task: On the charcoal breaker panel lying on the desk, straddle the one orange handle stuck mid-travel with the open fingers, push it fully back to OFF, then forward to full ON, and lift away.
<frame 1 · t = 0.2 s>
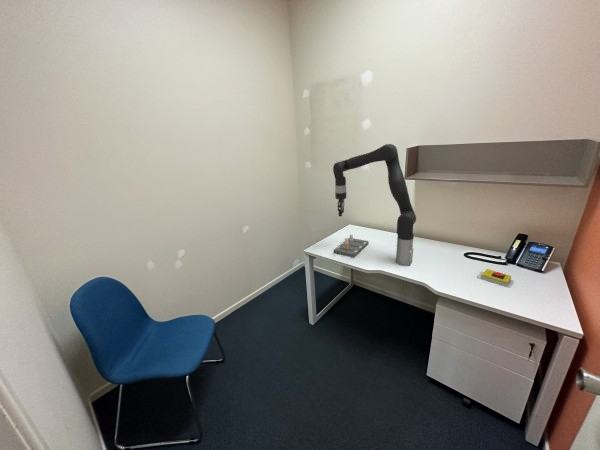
hand: (341, 214, 175), 27 cm above the table, fingers open, 8 cm apart
tripped breaker handle: (346, 246, 178), point 5 cm above the table, slide at 0.0 cm
breaker panel: (351, 248, 186), on the table
emergency button: (494, 280, 137), on the table
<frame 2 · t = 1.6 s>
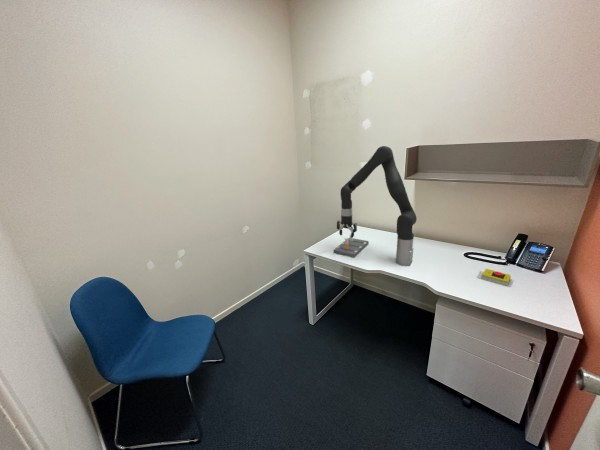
hand: (346, 236, 176), 13 cm above the table, fingers open, 8 cm apart
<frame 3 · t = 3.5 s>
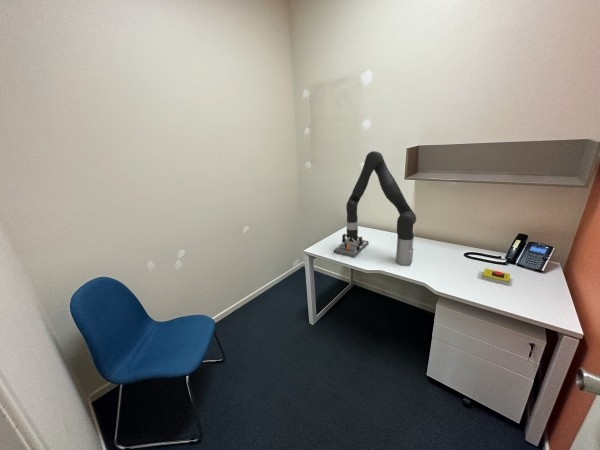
hand: (352, 249, 176), 4 cm above the table, fingers open, 8 cm apart
tripped breaker handle: (348, 246, 177), point 5 cm above the table, slide at -1.2 cm, touching gripper
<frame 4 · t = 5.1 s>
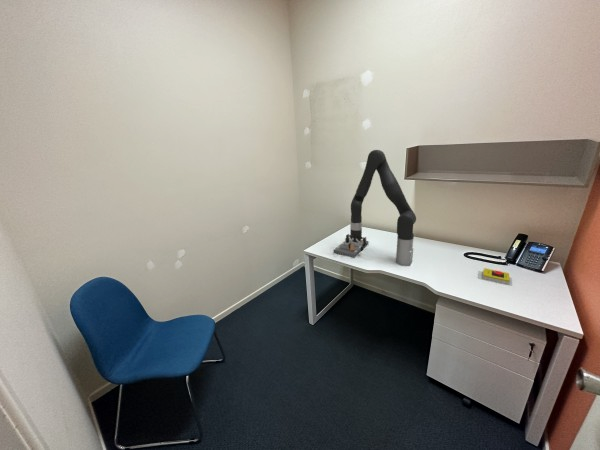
hand: (355, 249, 174), 4 cm above the table, fingers open, 8 cm apart
tripped breaker handle: (352, 247, 176), point 5 cm above the table, slide at -4.1 cm, touching gripper
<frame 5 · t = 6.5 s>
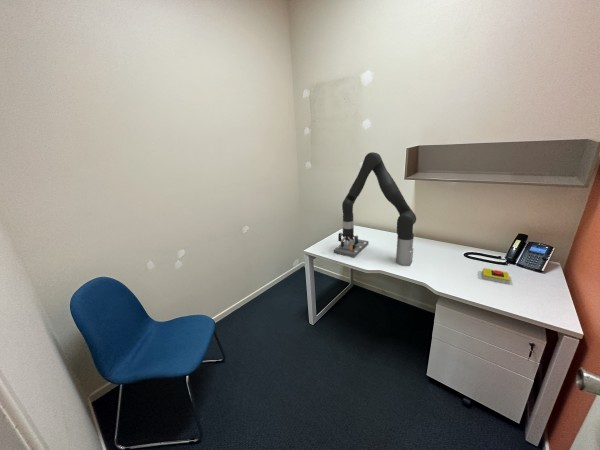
hand: (348, 248, 178), 4 cm above the table, fingers open, 8 cm apart
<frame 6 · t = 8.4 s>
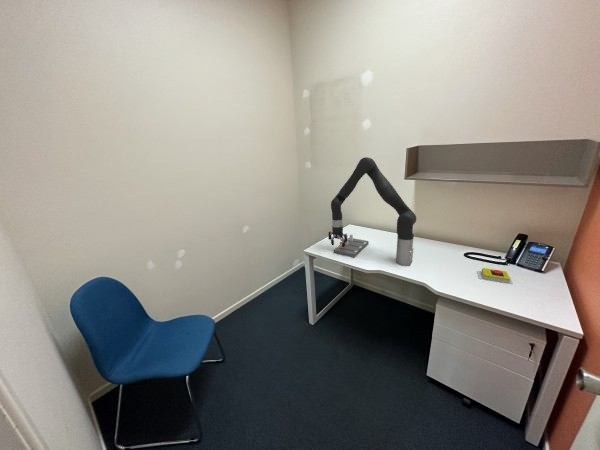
hand: (338, 246, 182), 4 cm above the table, fingers open, 8 cm apart
tripped breaker handle: (341, 245, 180), point 5 cm above the table, slide at 4.0 cm, touching gripper
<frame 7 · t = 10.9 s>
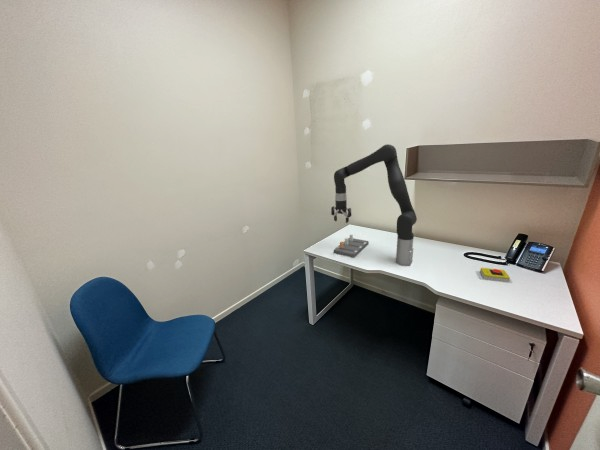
hand: (341, 221, 174), 23 cm above the table, fingers open, 8 cm apart
tripped breaker handle: (341, 245, 180), point 5 cm above the table, slide at 4.0 cm
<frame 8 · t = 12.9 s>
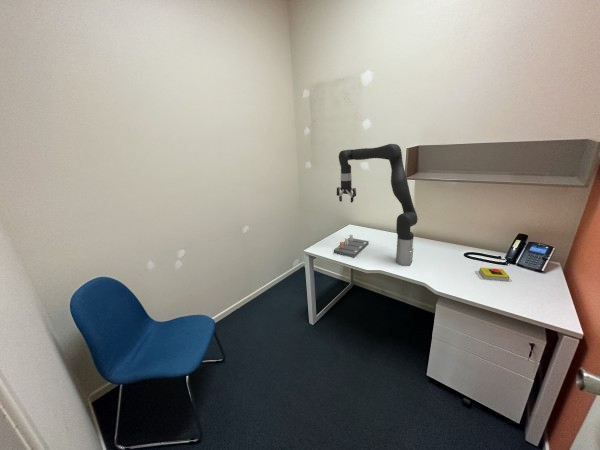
hand: (346, 201, 181), 34 cm above the table, fingers open, 8 cm apart
at the end: tripped breaker handle slide at 4.0 cm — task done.
